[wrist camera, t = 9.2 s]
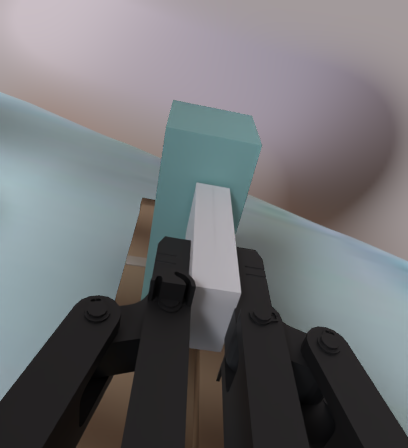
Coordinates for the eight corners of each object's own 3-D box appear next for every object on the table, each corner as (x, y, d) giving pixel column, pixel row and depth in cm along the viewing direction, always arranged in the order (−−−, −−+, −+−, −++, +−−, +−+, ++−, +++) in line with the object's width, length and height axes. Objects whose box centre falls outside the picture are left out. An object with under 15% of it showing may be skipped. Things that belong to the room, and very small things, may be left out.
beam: (234, 781, 11) (293, 777, 9) (-3, 779, 11) (-30, 774, 8) (215, 254, 33) (229, 202, 30) (136, 242, 33) (143, 186, 30)
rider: (206, 330, 22) (262, 145, 15) (137, 321, 21) (166, 127, 15) (206, 283, 25) (251, 115, 19) (146, 274, 25) (173, 99, 18)
